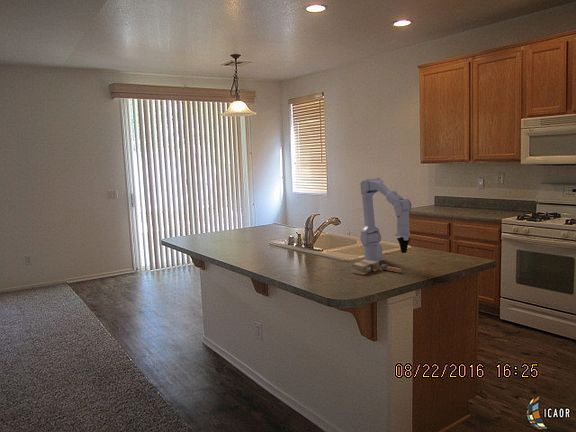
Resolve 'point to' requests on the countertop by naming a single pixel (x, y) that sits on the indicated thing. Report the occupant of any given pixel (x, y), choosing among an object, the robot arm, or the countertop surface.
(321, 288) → the countertop surface
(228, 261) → the countertop surface
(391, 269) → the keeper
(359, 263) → the block
